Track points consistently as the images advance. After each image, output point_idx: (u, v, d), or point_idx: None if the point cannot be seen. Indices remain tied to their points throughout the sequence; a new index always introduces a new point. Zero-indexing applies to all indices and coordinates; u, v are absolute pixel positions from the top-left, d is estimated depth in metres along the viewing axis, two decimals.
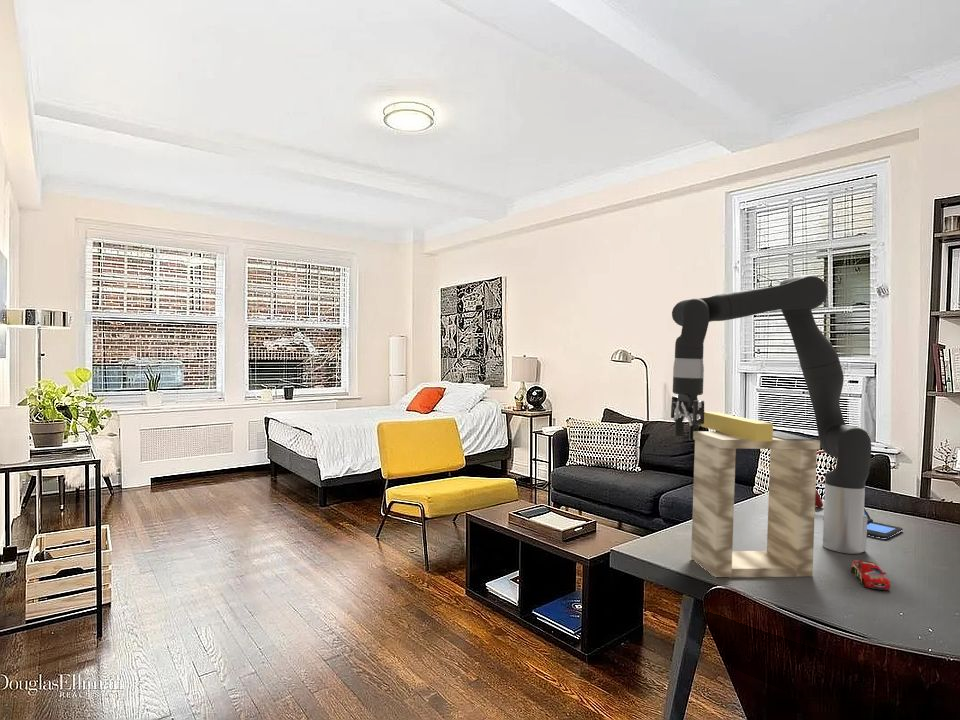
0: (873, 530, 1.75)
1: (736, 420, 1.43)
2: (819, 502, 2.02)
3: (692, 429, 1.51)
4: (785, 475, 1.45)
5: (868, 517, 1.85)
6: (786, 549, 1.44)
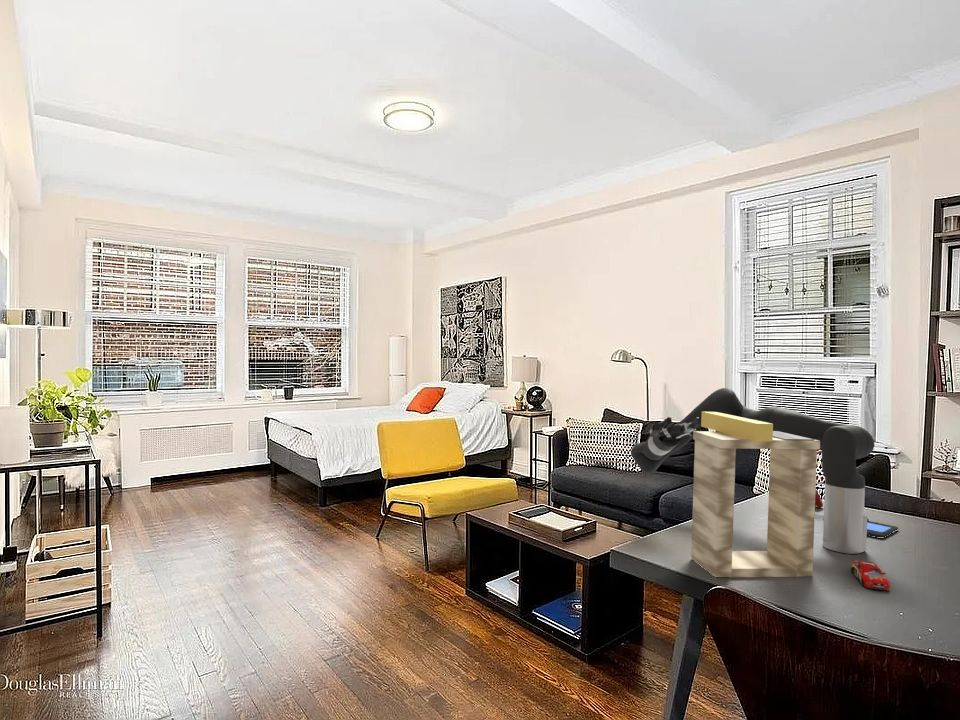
0: (870, 529, 1.76)
1: (736, 420, 1.43)
2: (819, 502, 2.02)
3: (665, 425, 1.77)
4: (785, 475, 1.45)
5: None
6: (786, 549, 1.44)
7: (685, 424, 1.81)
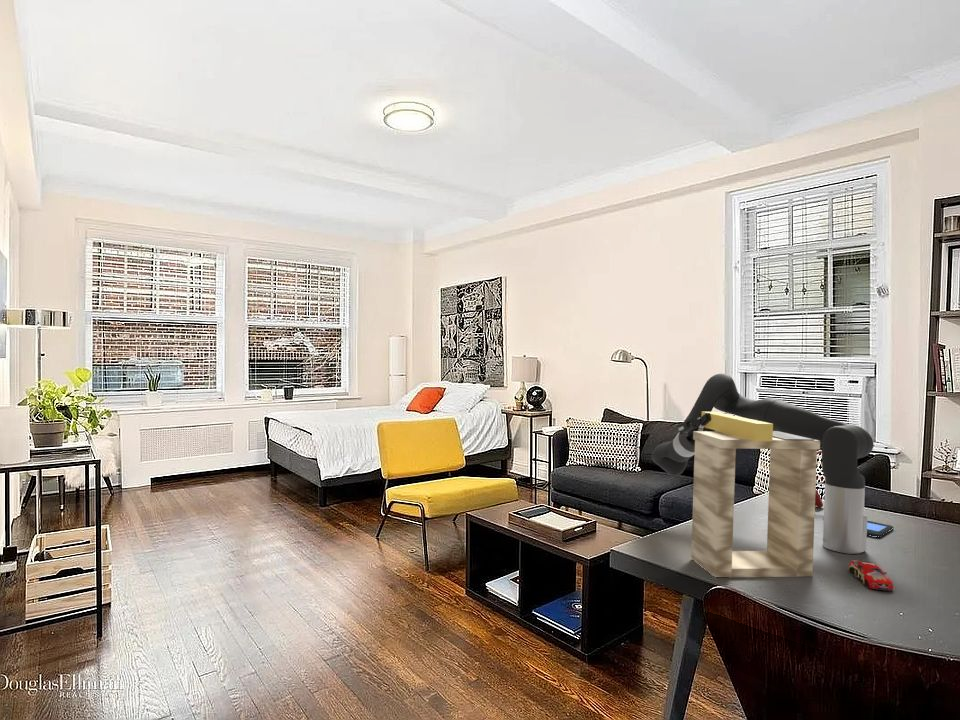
0: None
1: (736, 420, 1.43)
2: (819, 502, 2.02)
3: (703, 422, 1.58)
4: (785, 475, 1.45)
5: None
6: (786, 549, 1.44)
7: None
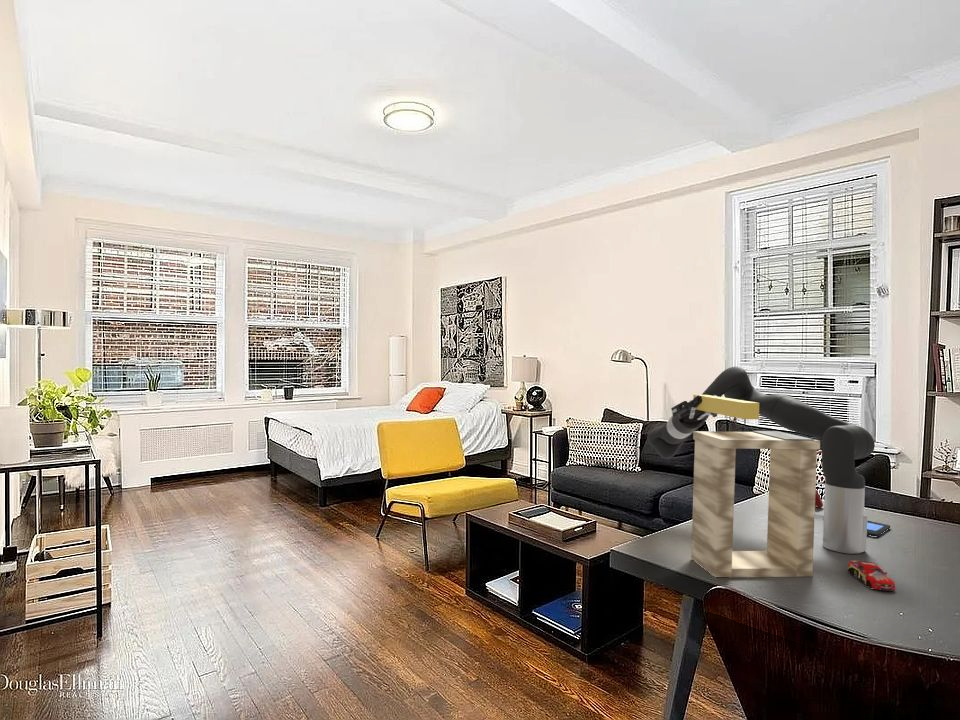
0: None
1: (725, 400, 1.53)
2: (819, 502, 2.02)
3: (695, 404, 1.68)
4: (785, 475, 1.45)
5: None
6: (786, 549, 1.44)
7: None
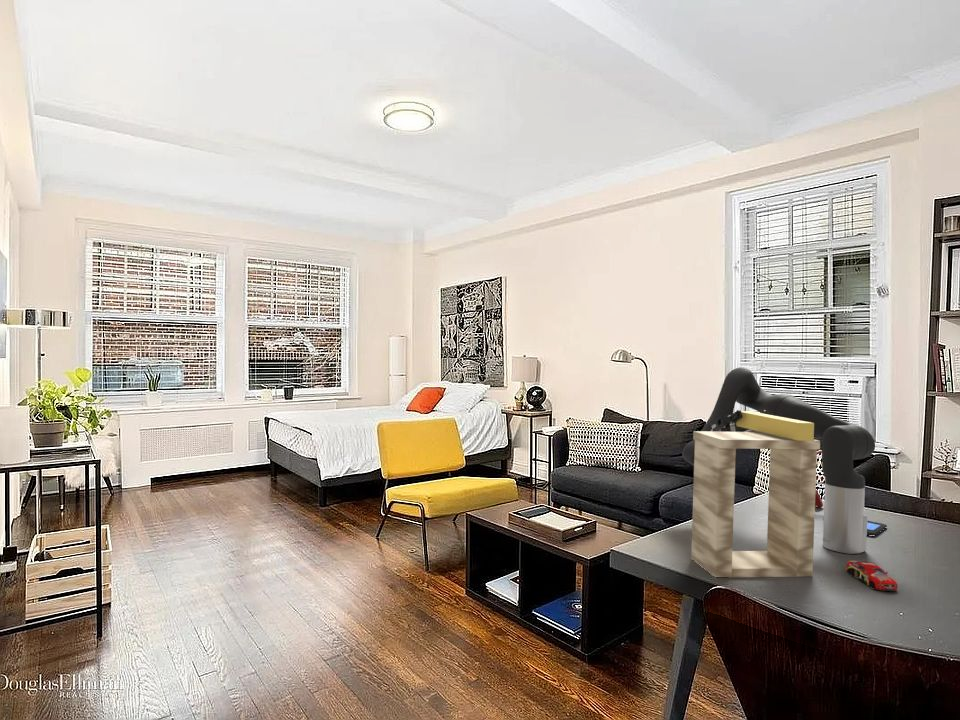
0: None
1: (775, 419, 1.44)
2: (819, 502, 2.02)
3: (734, 419, 1.59)
4: (785, 475, 1.45)
5: None
6: (786, 549, 1.44)
7: None
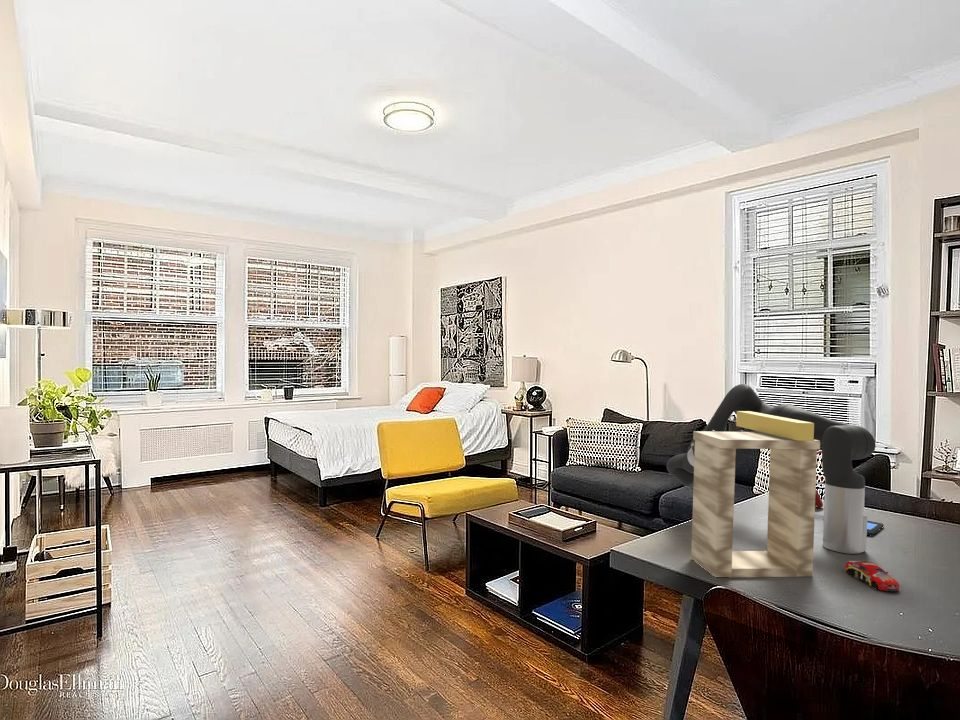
0: None
1: (775, 419, 1.44)
2: (819, 502, 2.02)
3: None
4: (785, 475, 1.45)
5: None
6: (786, 549, 1.44)
7: None
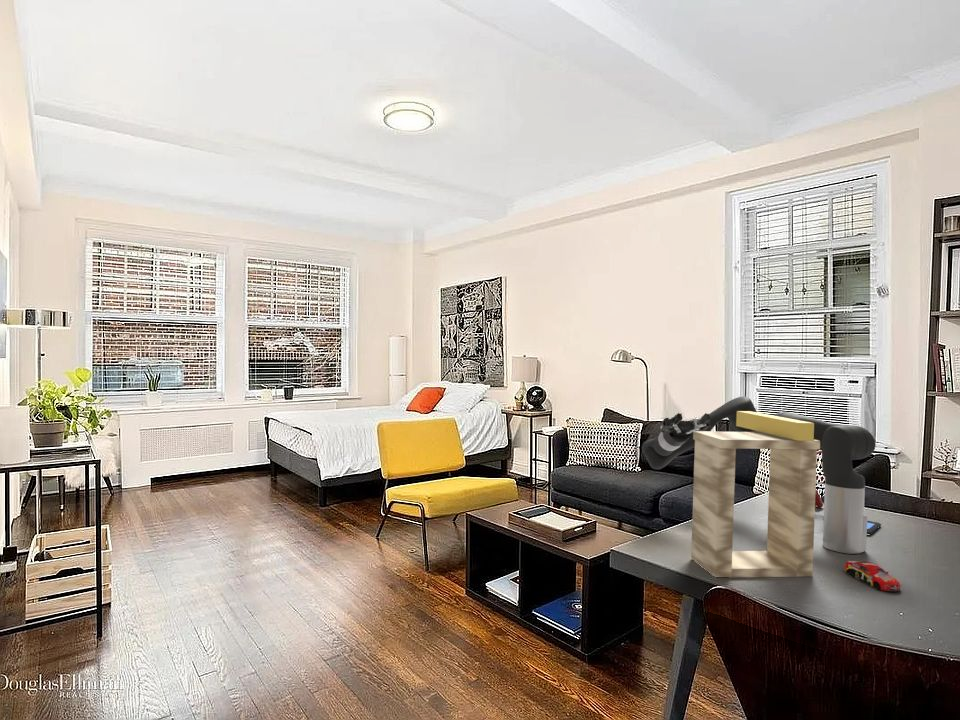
0: None
1: (775, 419, 1.44)
2: (819, 502, 2.02)
3: (675, 421, 1.81)
4: (785, 475, 1.45)
5: None
6: (786, 549, 1.44)
7: (695, 420, 1.86)
